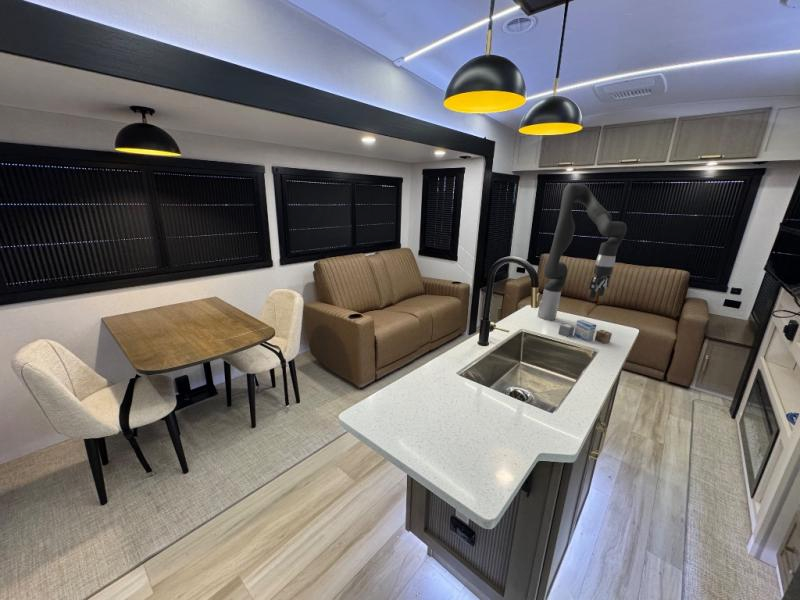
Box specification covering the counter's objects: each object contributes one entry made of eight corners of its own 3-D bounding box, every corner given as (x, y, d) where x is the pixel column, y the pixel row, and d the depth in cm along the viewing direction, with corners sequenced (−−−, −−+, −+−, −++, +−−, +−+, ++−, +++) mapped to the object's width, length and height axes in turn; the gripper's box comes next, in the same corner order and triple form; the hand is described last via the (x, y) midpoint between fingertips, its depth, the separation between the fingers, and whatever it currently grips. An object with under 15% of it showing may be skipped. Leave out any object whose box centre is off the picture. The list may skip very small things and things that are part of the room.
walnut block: (594, 340, 161) (596, 330, 160) (599, 338, 164) (601, 329, 163) (604, 344, 158) (607, 334, 156) (609, 342, 160) (612, 332, 159)
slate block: (558, 333, 168) (560, 324, 166) (563, 332, 170) (565, 323, 169) (567, 337, 164) (569, 328, 162) (572, 335, 166) (574, 326, 165)
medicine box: (573, 335, 166) (576, 320, 163) (578, 334, 168) (582, 319, 165) (587, 341, 159) (591, 325, 157) (593, 340, 161) (596, 324, 159)
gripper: (603, 261, 158) (595, 293, 163) (589, 264, 150) (581, 296, 156) (619, 264, 153) (611, 297, 158) (606, 267, 145) (597, 301, 150)
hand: (596, 296), depth 157 cm, fingers open, 8 cm apart
